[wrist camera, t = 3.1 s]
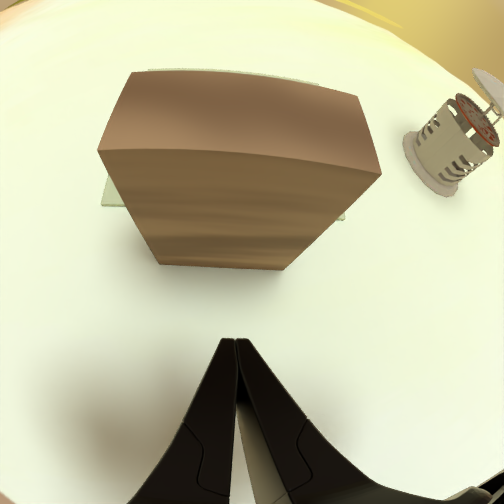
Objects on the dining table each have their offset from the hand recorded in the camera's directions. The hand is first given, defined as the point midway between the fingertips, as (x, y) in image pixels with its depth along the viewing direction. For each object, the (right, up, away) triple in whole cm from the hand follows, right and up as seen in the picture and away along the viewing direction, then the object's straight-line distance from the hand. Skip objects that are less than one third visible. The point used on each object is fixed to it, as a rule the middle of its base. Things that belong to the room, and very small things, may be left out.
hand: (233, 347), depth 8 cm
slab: (-2, +4, +12) cm, 13 cm away
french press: (+24, +14, +20) cm, 34 cm away
